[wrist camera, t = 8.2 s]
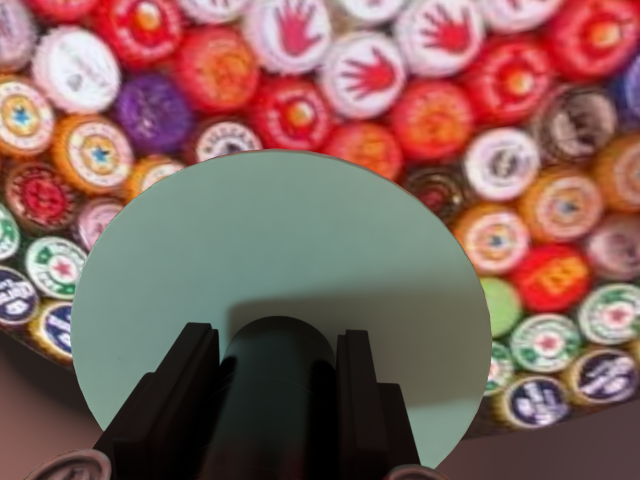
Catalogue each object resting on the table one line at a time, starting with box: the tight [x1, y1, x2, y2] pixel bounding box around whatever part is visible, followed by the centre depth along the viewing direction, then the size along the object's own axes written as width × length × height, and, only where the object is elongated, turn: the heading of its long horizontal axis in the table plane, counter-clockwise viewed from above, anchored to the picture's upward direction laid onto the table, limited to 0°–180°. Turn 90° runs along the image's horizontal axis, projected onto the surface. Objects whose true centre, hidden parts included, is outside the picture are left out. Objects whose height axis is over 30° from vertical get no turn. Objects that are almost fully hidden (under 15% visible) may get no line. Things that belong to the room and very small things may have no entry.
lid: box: [70, 149, 492, 480], centre depth 9 cm, size 11×11×7 cm
